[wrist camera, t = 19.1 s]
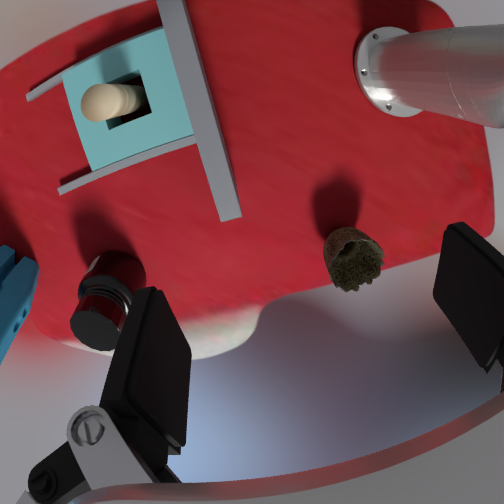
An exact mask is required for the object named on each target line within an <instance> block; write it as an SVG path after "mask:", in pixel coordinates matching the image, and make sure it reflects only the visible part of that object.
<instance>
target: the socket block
mask: <svg viewBox="0 0 504 504" xmlns="http://www.w3.org/2000/svg"><path fill="white" fill-rule="evenodd" d="M61 76H62V79H63V83H64V87H65V91H66V94H67V98H68V101H69V105H70V108H71V111H72V114H73V118H74V121H75V124H76V127H77V130H78V133H79V136H80V139H81V142H82V145H83V148H84V150H85V153H86V156H87V159H88V161H89V164H90V167H91V169H92V171H95V170H97V169H99V168H102V167H104V166H106V165H109V164H111V163H114V162H116V161H119V160H121V159H124V158H126V157H129V156H131V155H134V154H137V153H139V152H142V151H145V150H148V149H150V148H153V147H156V146H159V145H162V144H165V143H168V142H171V141H174V140H177V139H180V138H183V137H186V136H189V135H193V134H194V132H193V129H192V125H191V122H190V119H189V115H188V112H187V108H186V105H185V102H184V98H183V95H182V91H181V88H180V84H179V81H178V77H177V74H176V70H175V67H174V63H173V60H172V56H171V53H170V49H169V45H168V42H167V38H166V35H165V31H164V28H162V29H159V30H156V31H153V32H151V33H148V34H145V35H143V36H140V37H138V38H135V39H133V40H130V41H128V42H125V43H123V44H121V45H118V46H116V47H114V48H112V49H110V50H107V51H105V52H103V53H101V54H99V55H97V56H95V57H93V58H91V59H89V60H87V61H85V62H83V63H81V64H79V65H78V66H76V67H74V68H72V69H70V70H69V71H67V72H65V73H63V74H62V75H61ZM139 76H141V77H142V80H143V84H144V87H145V91H146V94H147V97H148V101H149V104H150V107H151V111H152V113H151V114H148V115H145V116H143V117H140V118H137V119H135V120H132V121H130V122H127V123H125V124H122V121H121V118H120V116H117V117H114V118H110V119H107V120H103V121H99V122H93V121H90V120H88V119H86V118H85V117H84V115H83V114H82V111H81V99H82V96H83V94H84V93H85V91H86V90H87V89H88V88H89V87H91V86H93V85H95V84H122V83H124V82H126V81H129V80H131V79H134V78H136V77H139Z"/></svg>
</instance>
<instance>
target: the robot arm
mask: <svg viewBox="0 0 504 504" xmlns="http://www.w3.org/2000/svg"><path fill="white" fill-rule="evenodd" d="M373 37H374V38H373ZM354 67H355V73H356V77H357V80H358V83H359V86H360V88H361V90H362V91H363V93H364V95H365V96H366V97H367V99H368V100H369V101H370V102H371V103H372V104H373V105H374V106H375V107H377V108H378V109H380V110H381V111H383V112H385V113H387V114H390V115H394V116H399V117H409V116H413V115H416V114H418V113H419V112H421V111H423V110H426V111H430V112H435V113H439V114H443V115H448V116H451V117H455V118H459V119H463V120H466V121H470V122H473V123H477V124H481V125H484V126H487V127H491V128H499V129H501V128H504V24H498V25H483V26H466V27H454V28H444V29H436V30H428V31H422V32H415V33H409V32H407V31H405V30H403V29H400V28H396V27H381V28H377V29H375V30H373V31H370V32H369V33H368V34H366V35H365V36H364V37H363V38H362V40H361V41H360V42H359V45H358V47H357V49H356V53H355V63H354ZM361 71H362V73H363V74H361ZM386 106H387V108H386ZM433 297H434V299H435V301H436V303H437V304H438V306H439V307H440V308H441V310H442V311H443V312H444V314H445V315H446V316H447V318H448V319H449V321H450V322H451V324H452V325H453V327H454V328H455V329H456V331H457V332H458V334H459V335H460V336H461V338H462V340H463V341H464V343H465V344H466V346H467V347H468V349H469V350H470V352H471V354H472V355H473V357H474V358H475V360H476V361H477V363H478V365H479V366H480V367H482V368H484V370H485V371H486V373H487V374H488V373H490V372H492V371H493V370H495V369H497V368H498V366H499V365H500V364H501V366H502V367H503V368H502V378H501V388H500V394H499V395H497V396H496V397H494V398H492V399H491V400H489V401H487V402H486V403H484V404H482V405H481V406H479V407H477V408H475V409H474V410H472V411H470V412H468V413H466V414H464V415H463V416H461V417H459V418H457V419H455V420H453V421H451V422H449V423H447V424H445V425H443V426H441V427H439V428H436V429H434V430H432V431H430V432H428V433H425V434H423V435H421V436H418V437H416V438H413V439H411V440H409V441H406V442H403V443H401V444H398V445H396V446H393V447H390V448H387V449H384V450H382V451H379V452H376V453H373V454H370V455H366V456H363V457H360V458H356V459H353V460H350V461H346V462H342V463H338V464H334V465H330V466H326V467H322V468H317V469H313V470H308V471H303V472H298V473H292V474H286V475H280V476H273V477H265V478H257V479H247V480H237V481H225V482H206V483H182V482H181V481H180V480H179V478H178V477H177V476H176V475H175V474H174V473H173V471H172V470H171V469H170V468H169V467H168V465H167V460H168V455H180V454H181V447H183V446H185V444H186V431H187V429H186V428H187V412H188V397H189V383H190V368H191V358H192V354H191V349H190V346H189V344H188V342H187V340H186V338H185V336H184V334H183V332H182V330H181V328H180V326H179V324H178V322H177V320H176V318H175V316H174V314H173V312H172V310H171V308H170V306H169V304H168V302H167V299H166V297H165V295H164V293H163V291H162V290H157V289H156V288H155V287H154V286H152V287H146V288H141V289H137V290H136V291H135V294H134V296H133V299H132V302H131V305H130V308H129V310H128V313H127V316H126V319H125V322H124V325H123V328H122V331H121V334H120V337H119V339H118V342H117V345H116V348H115V351H114V354H113V358H112V361H111V364H110V368H109V371H108V374H107V378H106V382H105V385H104V389H103V392H102V396H101V400H100V404H99V406H93V405H91V406H85V407H83V408H81V409H79V410H78V411H77V412H76V413H75V414H74V415H73V416H72V418H71V419H70V420H69V423H68V426H67V438H68V441H67V442H66V443H64V444H63V445H62V446H60V447H59V448H58V449H57V450H55V451H54V452H53V453H51V454H50V455H49V456H47V457H46V458H45V459H43V460H42V461H41V462H40V463H38V464H37V465H36V466H35V467H34V468H33V469H32V470H31V472H30V474H29V478H28V488H29V491H30V492H27V491H24V493H23V494H22V496H21V497H20V499H19V500H18V502H17V503H16V504H504V256H503V255H502V254H501V253H500V252H499V251H497V250H496V249H495V248H494V247H493V246H492V245H491V244H490V243H489V242H487V241H486V240H485V239H484V238H483V237H482V236H480V235H479V234H478V233H477V232H476V231H474V230H473V229H472V228H471V227H469V226H468V225H467V224H466V223H464V222H457V223H453V224H450V225H448V226H447V229H446V230H445V231H444V234H443V241H442V247H441V253H440V259H439V264H438V269H437V275H436V279H435V284H434V288H433Z"/></svg>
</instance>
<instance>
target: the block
mask: <svg viewBox="0 0 504 504" xmlns="http://www.w3.org/2000/svg"><path fill="white" fill-rule="evenodd" d="M38 274H39V265H38V264H37V263H36V262H35V261H33V260H31V259H29V258H28V257H26V256H24V257H23V258H22V259H21V260H20V262H19V263H18V264H17V265H15V250H13V249H12V248H10V247H8V246H6V245H3V246H1V247H0V364H1V363H2V361H3V358H4V357H5V355H6V353H7V351H8V349H9V347H10V345H11V343H12V342H13V339H14V338H15V336H16V334H17V332H18V331H19V329H20V327H21V326H22V324H23V322H24V321H25V319H26V317H27V316H28V314H29V312H30V309H31V305H32V301H33V297H34V293H35V290H36V286H37V283H38Z"/></svg>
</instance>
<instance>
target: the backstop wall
mask: <svg viewBox="0 0 504 504" xmlns="http://www.w3.org/2000/svg"><path fill="white" fill-rule="evenodd" d="M156 1H157V5H158V9H159V13H160V16H161V20H162V24H163V26H160V27H157V28H154V29H152V30H149V31H146V32H144V33H141V34H138V35H136V36H133V37H131V38H129V39H126V40H124V41H121V42H119V43H117V44H115V45H112V46H110V47H108V48H106V49H104V50H102V51H100V52H98V53H96V54H94V55H92V56H90V57H88V58H86V59H84V60H82V61H80V62H78V63H76V64H75V65H73V66H71V67H69V68H67V69H66V70H64V71H62V72H61V73H59V74H57V75H56V76H54V77H52V78H51V79H49V80H47V81H46V82H44V83H43V84H41V85H40V86H38V87H37V88H35V89H34V90H32V91H31V92H29V93H28V94H27V95H26V98H27V101H32V100H34V99H35V98H37V97H39V96H40V95H42V94H43V93H45V92H46V91H48V90H49V89H51V88H53V87H54V86H56V85H58V84H59V83H61V82H63V79H62V76H61V75H62V74H63V73H65V72H67V71H69V70H70V69H72V68H74V67H76V66H78V65H79V64H81V63H83V62H85V61H87V60H89V59H91V58H93V57H95V56H97V55H99V54H101V53H103V52H105V51H107V50H110V49H112V48H114V47H116V46H118V45H121V44H123V43H125V42H128V41H130V40H133V39H135V38H138V37H140V36H143V35H145V34H148V33H151V32H153V31H156V30H159V29H162V28H164V31H165V35H166V38H167V42H168V45H169V49H170V53H171V56H172V60H173V63H174V67H175V70H176V74H177V77H178V81H179V84H180V88H181V91H182V95H183V98H184V102H185V105H186V108H187V112H188V115H189V119H190V122H191V125H192V129H193V132H194V134H193V135H189V136H186V137H183V138H180V139H177V140H174V141H171V142H168V143H165V144H162V145H159V146H156V147H153V148H150V149H148V150H145V151H142V152H139V153H137V154H134V155H131V156H129V157H126V158H124V159H121V160H119V161H116V162H114V163H111V164H109V165H106V166H104V167H102V168H99V169H97V170H95V171H92V172H90V173H88V174H85V175H83V176H81V177H79V178H77V179H74V180H72V181H70V182H68V183H66V184H64V185H62V186H60V187H59V188H58V192H59V194H60V195H62V194H64V193H66V192H68V191H70V190H73V189H75V188H77V187H79V186H82V185H84V184H86V183H88V182H91V181H93V180H95V179H98V178H100V177H103V176H105V175H107V174H110V173H112V172H115V171H117V170H120V169H122V168H125V167H128V166H130V165H133V164H136V163H138V162H141V161H144V160H147V159H149V158H152V157H155V156H158V155H161V154H164V153H167V152H170V151H173V150H176V149H179V148H182V147H185V146H189V145H192V144H195V143H197V145H198V149H199V152H200V155H201V159H202V162H203V165H204V169H205V172H206V175H207V178H208V182H209V185H210V188H211V191H212V194H213V198H214V201H215V204H216V207H217V210H218V214H219V217H220V220H221V222H224V221H227V220H231V219H235V218H239V217H242V213H241V207H240V202H239V196H238V191H237V185H236V181H235V178H234V174H233V170H232V167H231V163H230V159H229V156H228V152H227V149H226V145H225V141H224V138H223V134H222V131H221V127H220V123H219V120H218V116H217V113H216V109H215V105H214V102H213V98H212V95H211V91H210V87H209V84H208V80H207V77H206V73H205V70H204V66H203V62H202V59H201V55H200V52H199V48H198V45H197V41H196V37H195V34H194V30H193V27H192V23H191V20H190V16H189V12H188V9H187V5H186V2H185V0H156Z"/></svg>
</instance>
